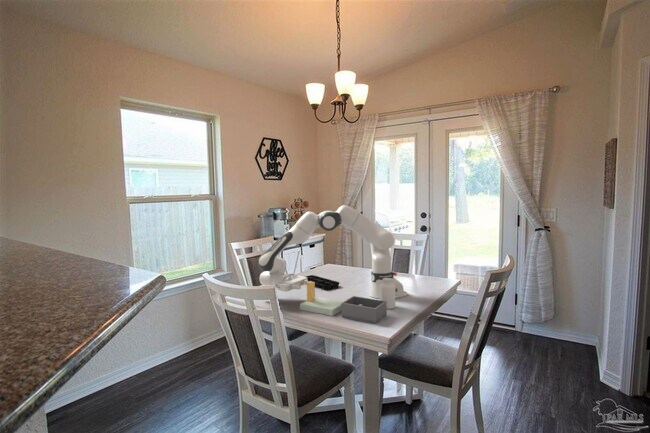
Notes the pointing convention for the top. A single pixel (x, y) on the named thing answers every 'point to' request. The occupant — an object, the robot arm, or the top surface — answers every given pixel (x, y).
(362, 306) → the tub
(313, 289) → the lid
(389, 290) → the pill bottle
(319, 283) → the black compartment tray
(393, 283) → the robot arm
